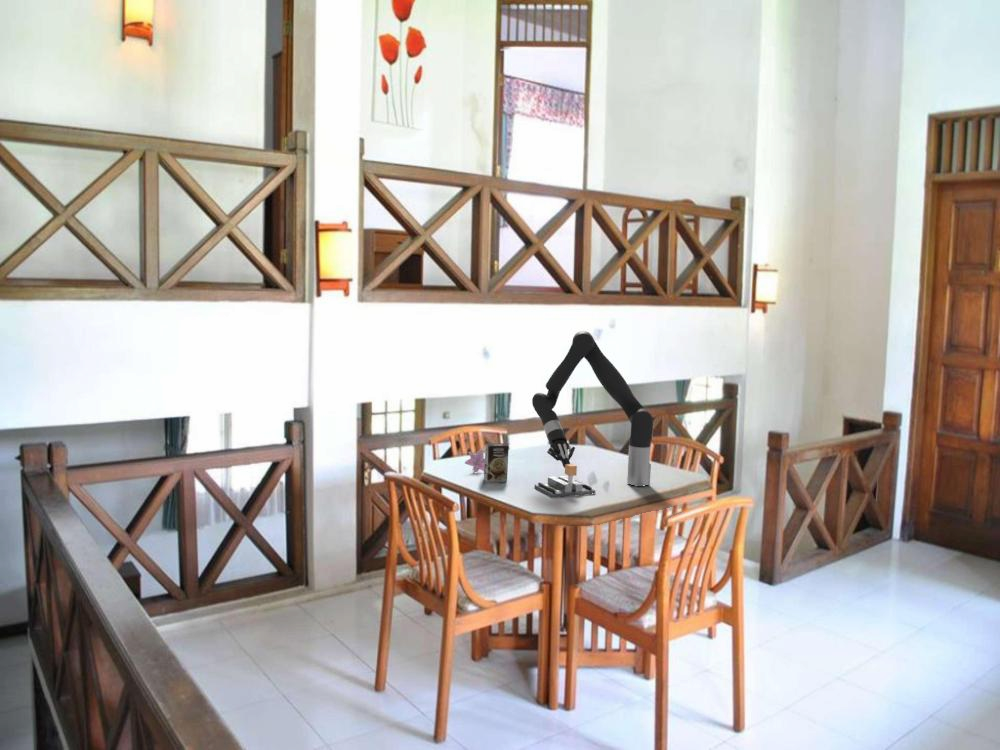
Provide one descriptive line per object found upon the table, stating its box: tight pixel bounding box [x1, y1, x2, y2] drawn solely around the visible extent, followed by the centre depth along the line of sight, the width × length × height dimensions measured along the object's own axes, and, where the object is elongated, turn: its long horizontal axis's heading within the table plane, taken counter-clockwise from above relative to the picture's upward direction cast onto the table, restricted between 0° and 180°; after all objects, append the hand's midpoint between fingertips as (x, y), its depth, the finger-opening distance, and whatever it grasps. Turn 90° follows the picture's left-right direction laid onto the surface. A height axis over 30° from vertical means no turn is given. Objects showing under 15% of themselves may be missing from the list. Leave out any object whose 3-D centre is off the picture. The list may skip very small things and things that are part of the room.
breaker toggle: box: [564, 463, 578, 485], centre depth 340 cm, size 3×4×10 cm
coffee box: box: [483, 442, 509, 484], centre depth 357 cm, size 9×6×16 cm
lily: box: [464, 448, 485, 473], centre depth 374 cm, size 12×12×10 cm
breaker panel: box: [533, 475, 596, 498], centre depth 344 cm, size 20×16×4 cm
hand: (567, 467), depth 342 cm, fingers closed
